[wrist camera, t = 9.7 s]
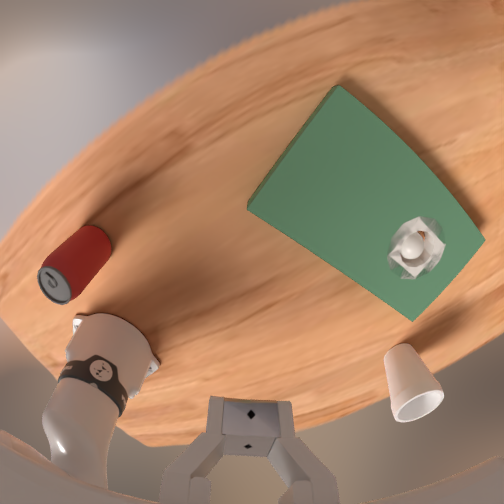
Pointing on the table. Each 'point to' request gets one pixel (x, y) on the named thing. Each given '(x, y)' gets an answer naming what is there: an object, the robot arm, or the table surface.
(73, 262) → the beer can
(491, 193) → the table surface
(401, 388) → the foam cup
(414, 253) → the ball
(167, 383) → the table surface
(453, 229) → the green rectangular slab
